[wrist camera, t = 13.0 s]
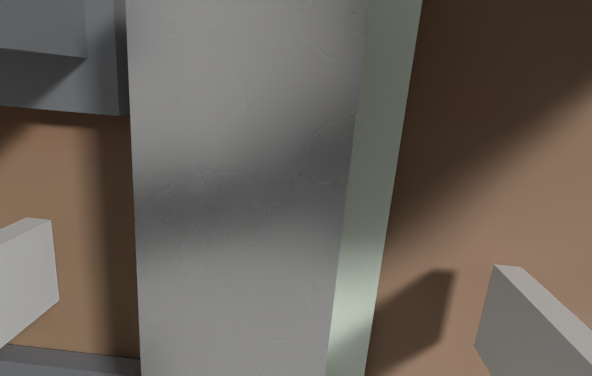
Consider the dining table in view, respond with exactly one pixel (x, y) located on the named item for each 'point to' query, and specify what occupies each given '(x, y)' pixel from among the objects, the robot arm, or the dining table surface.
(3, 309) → the robot arm
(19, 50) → the post
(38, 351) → the post
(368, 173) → the mat
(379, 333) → the dining table surface
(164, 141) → the rail
